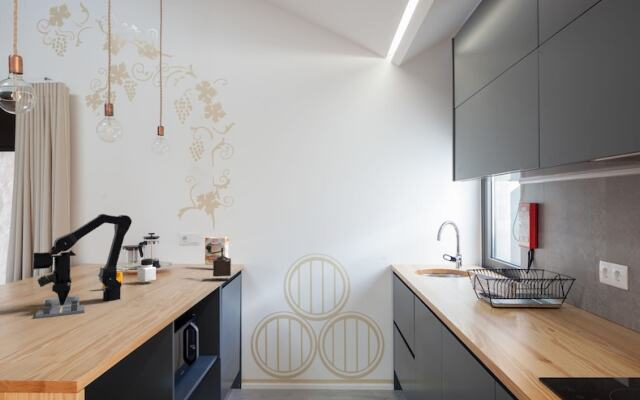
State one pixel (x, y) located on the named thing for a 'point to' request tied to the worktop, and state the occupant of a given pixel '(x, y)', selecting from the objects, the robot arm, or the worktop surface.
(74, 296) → the shiny metal block
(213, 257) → the coffeecake box
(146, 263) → the medicine bottle
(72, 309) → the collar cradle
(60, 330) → the worktop surface
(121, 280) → the pipe clamp
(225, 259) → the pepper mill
